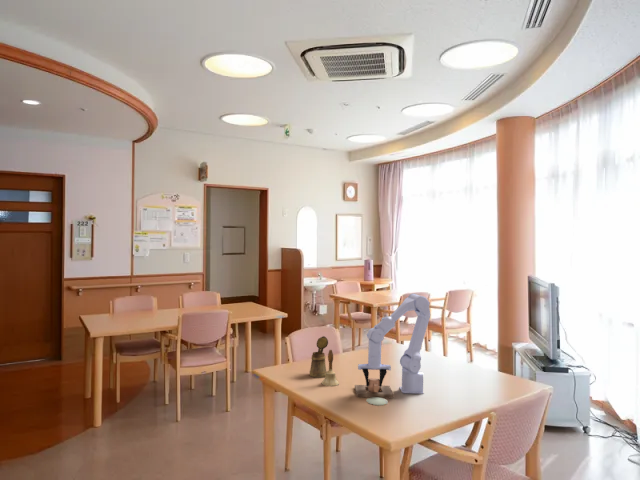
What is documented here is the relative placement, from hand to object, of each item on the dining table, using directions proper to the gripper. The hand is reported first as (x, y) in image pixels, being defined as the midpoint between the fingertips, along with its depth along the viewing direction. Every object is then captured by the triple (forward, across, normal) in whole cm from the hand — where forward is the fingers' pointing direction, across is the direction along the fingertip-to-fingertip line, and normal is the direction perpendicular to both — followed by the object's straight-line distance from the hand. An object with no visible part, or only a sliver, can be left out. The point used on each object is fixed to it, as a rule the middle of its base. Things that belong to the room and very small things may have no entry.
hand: (373, 385), depth 202 cm
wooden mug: (+3, +24, -27) cm, 36 cm away
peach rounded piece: (+3, 0, +2) cm, 4 cm away
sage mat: (+3, 0, +11) cm, 11 cm away
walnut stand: (+3, 0, 0) cm, 3 cm away
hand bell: (+3, +19, -12) cm, 23 cm away
